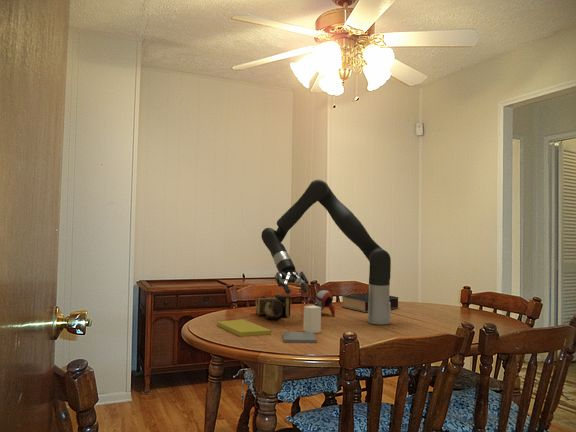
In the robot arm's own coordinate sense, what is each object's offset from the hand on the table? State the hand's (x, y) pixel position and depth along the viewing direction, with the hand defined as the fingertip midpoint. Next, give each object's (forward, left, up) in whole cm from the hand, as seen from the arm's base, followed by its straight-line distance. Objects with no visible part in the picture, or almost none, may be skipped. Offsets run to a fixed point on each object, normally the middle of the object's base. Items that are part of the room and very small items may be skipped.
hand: (297, 292), depth 191 cm
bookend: (+9, -17, -15) cm, 24 cm away
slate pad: (0, +22, -14) cm, 26 cm away
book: (-43, -47, -15) cm, 65 cm away
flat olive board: (+22, +9, -15) cm, 28 cm away
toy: (-13, -29, -15) cm, 35 cm away
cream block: (-6, +10, -14) cm, 18 cm away
